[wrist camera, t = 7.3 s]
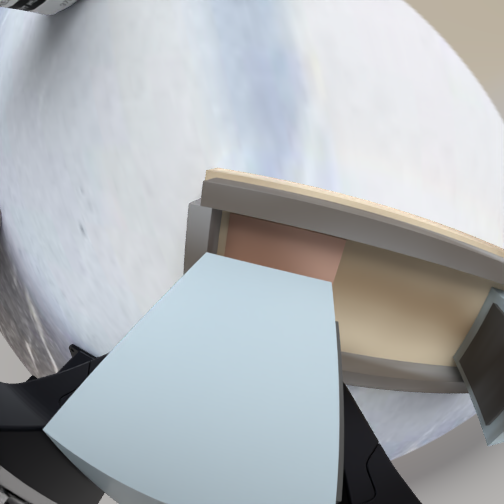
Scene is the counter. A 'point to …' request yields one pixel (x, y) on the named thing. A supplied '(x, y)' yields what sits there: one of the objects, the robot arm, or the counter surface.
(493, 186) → the counter surface
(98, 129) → the counter surface
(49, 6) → the supplement can
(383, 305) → the rail plate
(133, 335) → the block
